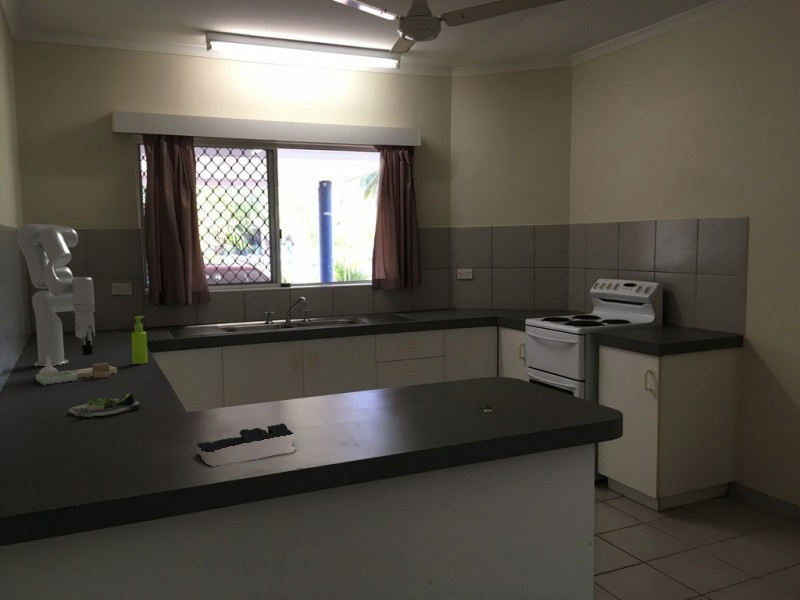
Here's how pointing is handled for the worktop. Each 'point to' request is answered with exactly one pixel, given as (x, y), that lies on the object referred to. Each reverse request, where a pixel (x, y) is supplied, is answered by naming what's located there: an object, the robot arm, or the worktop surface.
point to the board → (91, 372)
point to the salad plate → (106, 406)
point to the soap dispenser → (139, 343)
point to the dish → (56, 377)
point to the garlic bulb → (48, 367)
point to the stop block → (100, 370)
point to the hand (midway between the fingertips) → (87, 354)
